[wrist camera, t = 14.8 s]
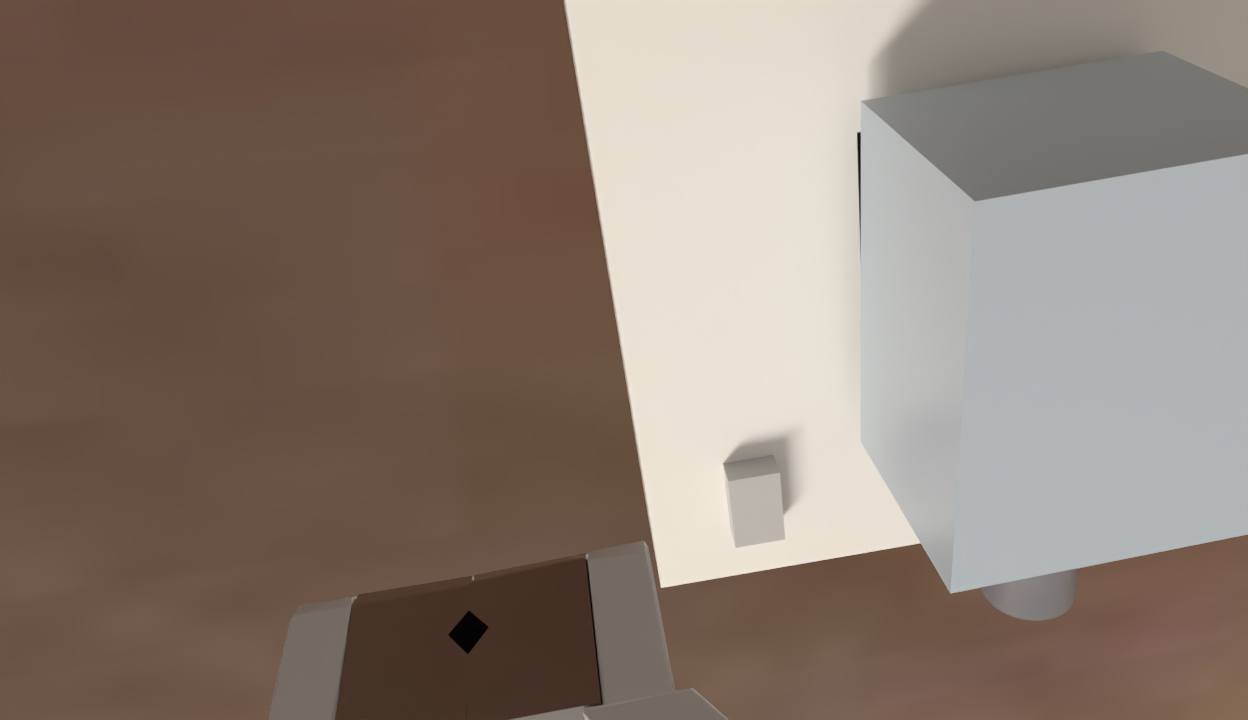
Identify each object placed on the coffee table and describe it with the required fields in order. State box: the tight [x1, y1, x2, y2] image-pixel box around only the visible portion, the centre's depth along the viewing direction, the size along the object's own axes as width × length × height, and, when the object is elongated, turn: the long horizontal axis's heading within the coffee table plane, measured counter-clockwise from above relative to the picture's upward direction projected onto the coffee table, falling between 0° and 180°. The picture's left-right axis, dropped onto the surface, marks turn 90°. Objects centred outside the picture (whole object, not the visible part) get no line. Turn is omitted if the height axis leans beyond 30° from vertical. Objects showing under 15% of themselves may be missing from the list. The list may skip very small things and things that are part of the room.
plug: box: [861, 51, 1248, 621], centre depth 22 cm, size 11×6×8 cm, turn 7°
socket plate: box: [564, 0, 1248, 588], centre depth 23 cm, size 16×16×4 cm
